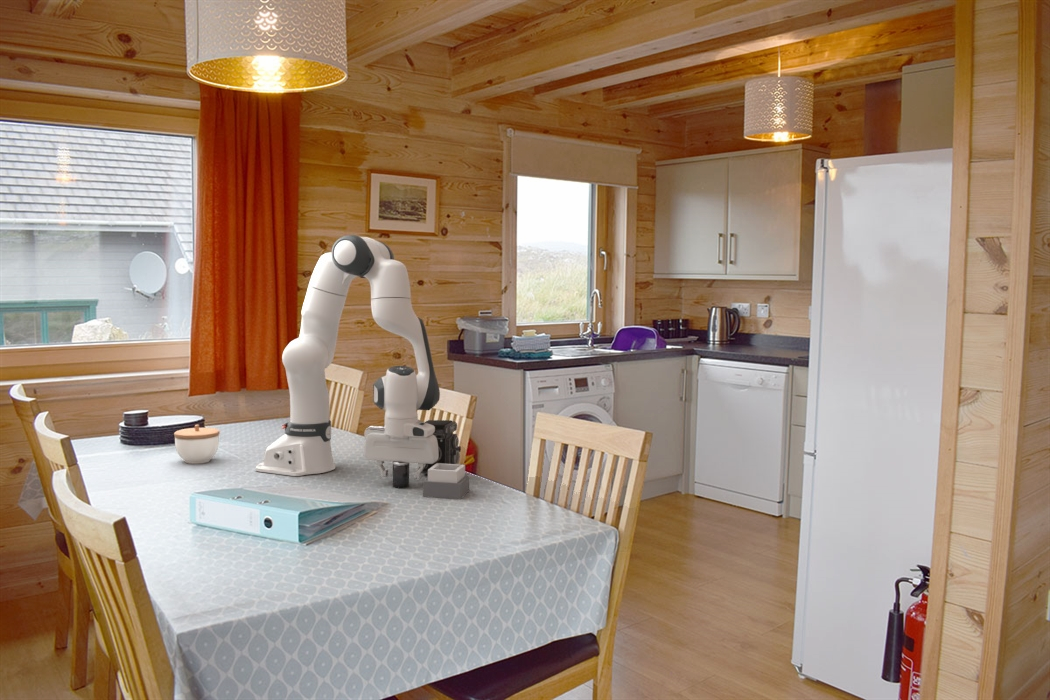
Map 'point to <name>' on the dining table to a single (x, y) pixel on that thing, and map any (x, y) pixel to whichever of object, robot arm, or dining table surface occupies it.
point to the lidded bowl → (197, 444)
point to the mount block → (446, 481)
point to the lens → (400, 474)
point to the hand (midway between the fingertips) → (401, 477)
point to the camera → (445, 443)
